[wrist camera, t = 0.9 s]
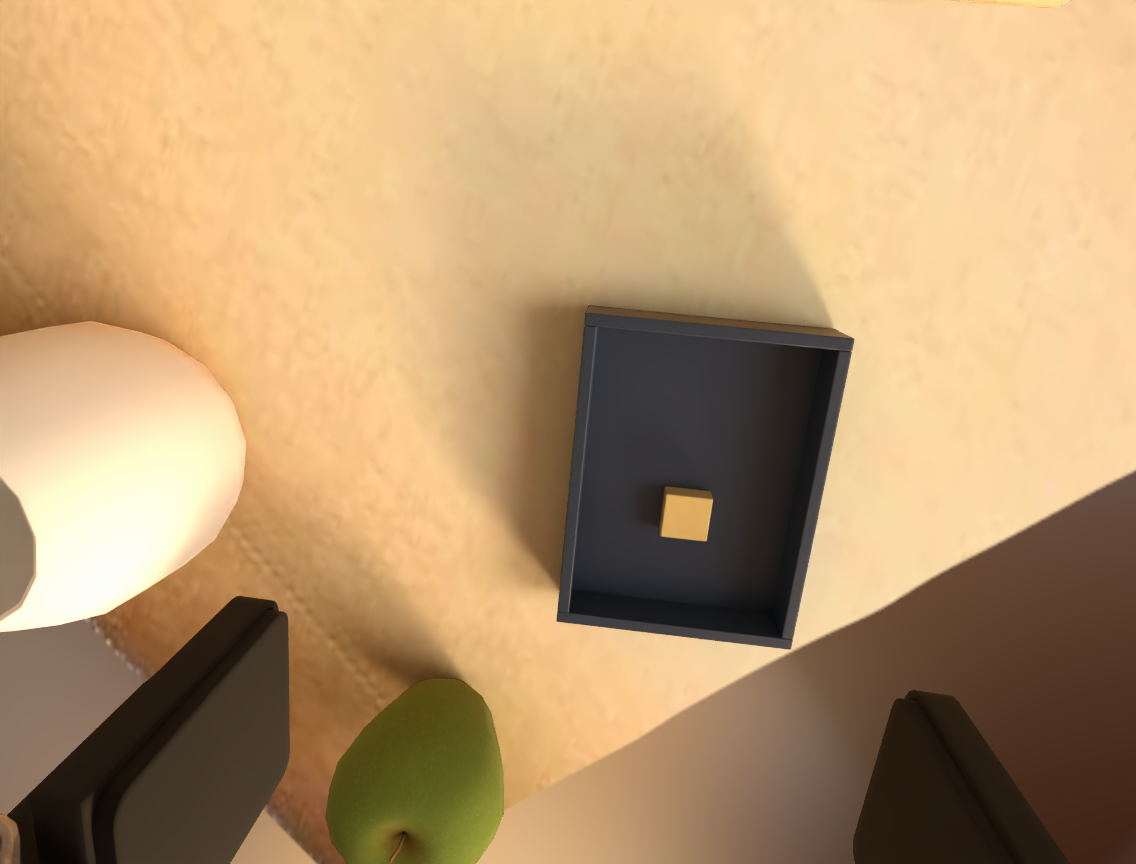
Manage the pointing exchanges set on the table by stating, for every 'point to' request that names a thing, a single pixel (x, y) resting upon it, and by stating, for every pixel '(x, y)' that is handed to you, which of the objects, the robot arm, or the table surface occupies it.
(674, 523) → the tan square block
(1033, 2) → the peg on plate
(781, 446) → the tray
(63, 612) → the white vase
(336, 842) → the apple
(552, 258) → the table surface
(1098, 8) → the table surface
